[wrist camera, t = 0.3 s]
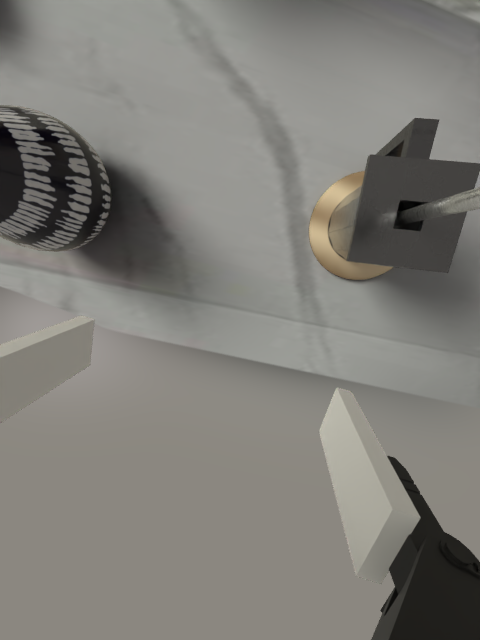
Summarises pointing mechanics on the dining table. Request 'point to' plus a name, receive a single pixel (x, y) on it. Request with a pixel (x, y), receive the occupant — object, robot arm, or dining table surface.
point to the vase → (49, 183)
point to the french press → (407, 186)
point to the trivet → (320, 233)
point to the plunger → (435, 209)
